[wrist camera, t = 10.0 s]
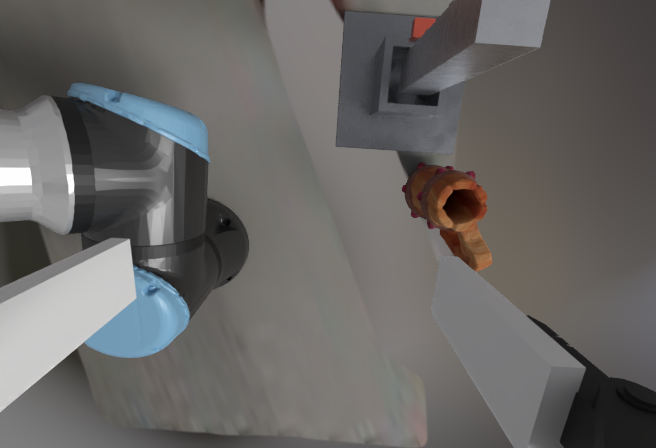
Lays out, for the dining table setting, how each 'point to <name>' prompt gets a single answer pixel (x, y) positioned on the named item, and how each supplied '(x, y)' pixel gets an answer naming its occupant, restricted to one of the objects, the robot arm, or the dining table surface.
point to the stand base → (390, 89)
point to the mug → (451, 209)
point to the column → (471, 42)
